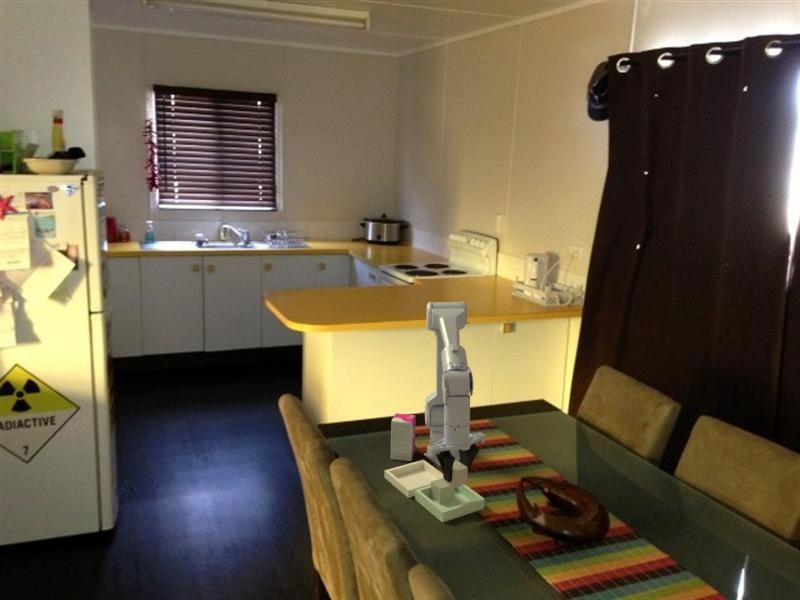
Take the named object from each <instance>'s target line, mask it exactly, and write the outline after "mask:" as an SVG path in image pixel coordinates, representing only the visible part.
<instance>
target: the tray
mask: <svg viewBox="0 0 800 600" xmlns="http://www.w3.org/2000/svg"><path fill="white" fill-rule="evenodd" d="M441 478H443V472H441V471H440V470H438V469H437V468H436V467H434V466H433V465H431V464H430V463H429V462H427V461H426V460H425V459H421V460H417V461H415V462H414V461H413V462H410V463H406V464H404V465H400V466H397V467H396V466H395V467H392V468H389V469H385V470H384V479H386V480H387V481H388V482H389V483H391V484H392V486H394V487H395V488H396V489H397V490H398V491H400V492H401V493H402V494H403V495H404V496H405V497H406V498H407V499H410V498H413V497H415V490H417V489H420V488H424V487H427V486H430V485H431V481H435V480H438V479H441Z"/></svg>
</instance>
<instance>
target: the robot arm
mask: <svg viewBox="0 0 800 600" xmlns="http://www.w3.org/2000/svg"><path fill="white" fill-rule="evenodd" d="M425 311H426V312H425V313H426V315H425V316H426V328H427V331H431V332H433V333H434V335H435V391H433V392H432V393H430V394H429V395H428V396H426V399H425V405H424V422H425V426H426V428H429V445H427V446H426V452H425V453H423V455H424V456H425V457H426V458H427V459H429V460H431V462H434V463H435V464H436V465H438V466H440V468H441V471H442V472H441V473H442V474H443V476H444V479H445V480H446V481H447V482H451V481H452V469H453V464H454V462H455V461H459V462H460V463H462V464H463V465H465V466H466V467H468V475H469V474H470V471H471V467H472V464H473V461H474V460H475V459H476V456H477V455H478V454H479V453H480V452H479V451H480V449H479V447H478V446H476V444H484V443H485V442H486V435H485V434H484V433H482V432H480V431H478V432H473V433H471V432H470V428H471V427H470V426H471V422H470V421H471V415H470V414H471V397H472V396H473V394H474V376H473V373H472V369H471V367H470V366H469V363H468V359H467V358H468V357H467V352H466V349H465V348H464V346H462V345H460V342H461V339H460V331H461V330H463V329H464V328H465V326H466V325H467V324H468V307H467V303H466V302H465V301H464V300H462V301H446V302H445V301H439V302H437V301H436V302H434V301H428V303H427V304H426V310H425Z"/></svg>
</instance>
